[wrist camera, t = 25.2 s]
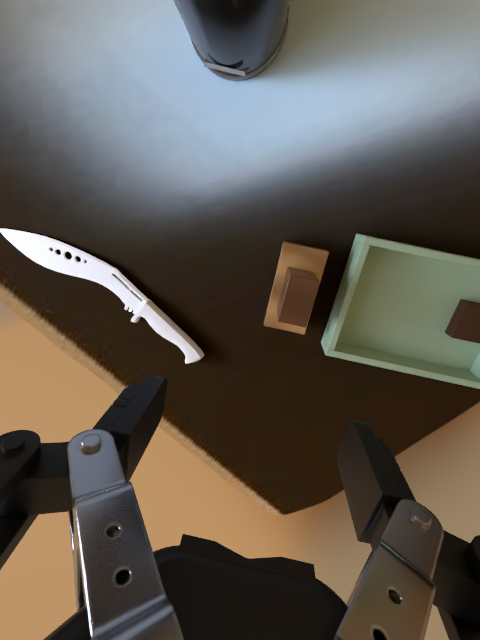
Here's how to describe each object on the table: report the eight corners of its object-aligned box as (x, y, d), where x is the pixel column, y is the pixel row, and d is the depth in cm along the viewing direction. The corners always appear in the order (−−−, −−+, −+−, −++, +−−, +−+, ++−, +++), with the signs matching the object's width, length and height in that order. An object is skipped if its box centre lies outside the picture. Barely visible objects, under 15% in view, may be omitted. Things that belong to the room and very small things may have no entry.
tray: (356, 233, 35) (365, 235, 31) (527, 269, 34) (555, 275, 31) (320, 342, 40) (325, 355, 36) (469, 375, 39) (488, 390, 36)
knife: (-10, 230, 38) (19, 180, 35) (1, 229, 39) (30, 182, 37) (168, 389, 42) (205, 356, 40) (171, 383, 44) (207, 351, 41)
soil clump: (460, 298, 35) (468, 302, 34) (497, 306, 35) (507, 310, 34) (444, 332, 37) (451, 337, 35) (479, 340, 37) (488, 345, 35)
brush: (283, 239, 36) (286, 247, 29) (324, 248, 35) (338, 258, 28) (264, 317, 39) (262, 341, 32) (302, 325, 39) (308, 351, 32)
